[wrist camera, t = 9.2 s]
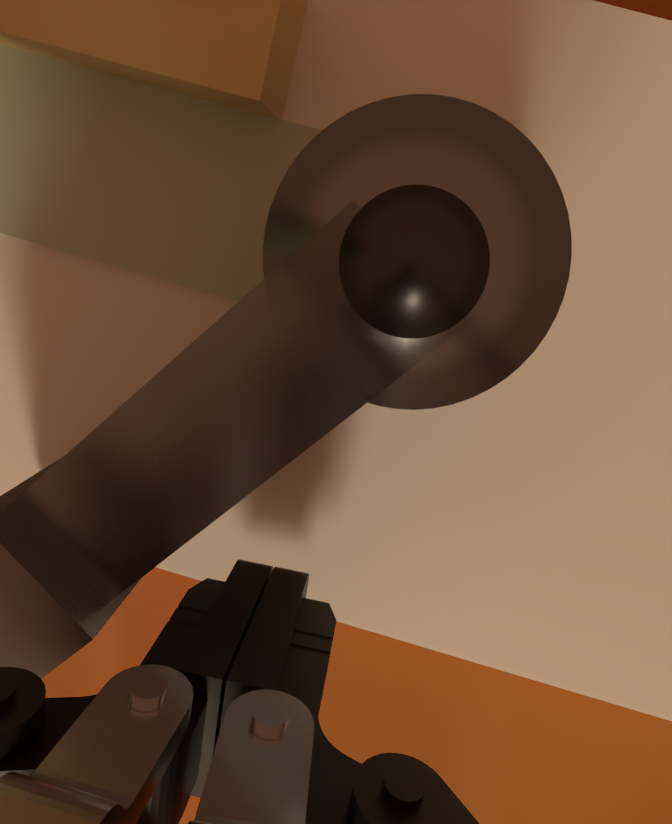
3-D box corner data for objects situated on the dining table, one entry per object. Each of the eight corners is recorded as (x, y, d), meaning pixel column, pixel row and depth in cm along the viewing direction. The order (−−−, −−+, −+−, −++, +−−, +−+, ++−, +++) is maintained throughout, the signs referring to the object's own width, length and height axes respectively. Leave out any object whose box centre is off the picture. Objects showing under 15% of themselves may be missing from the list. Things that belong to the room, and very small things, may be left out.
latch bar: (431, 87, 11) (444, -4, 7) (567, 269, 11) (657, 287, 7) (8, 471, 14) (-162, 569, 10) (132, 602, 14) (21, 748, 10)
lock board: (1124, 166, 11) (1365, 140, 9) (794, 727, 15) (885, 842, 12) (-208, -180, 12) (-396, -307, 9) (-214, 428, 16) (-350, 469, 13)
